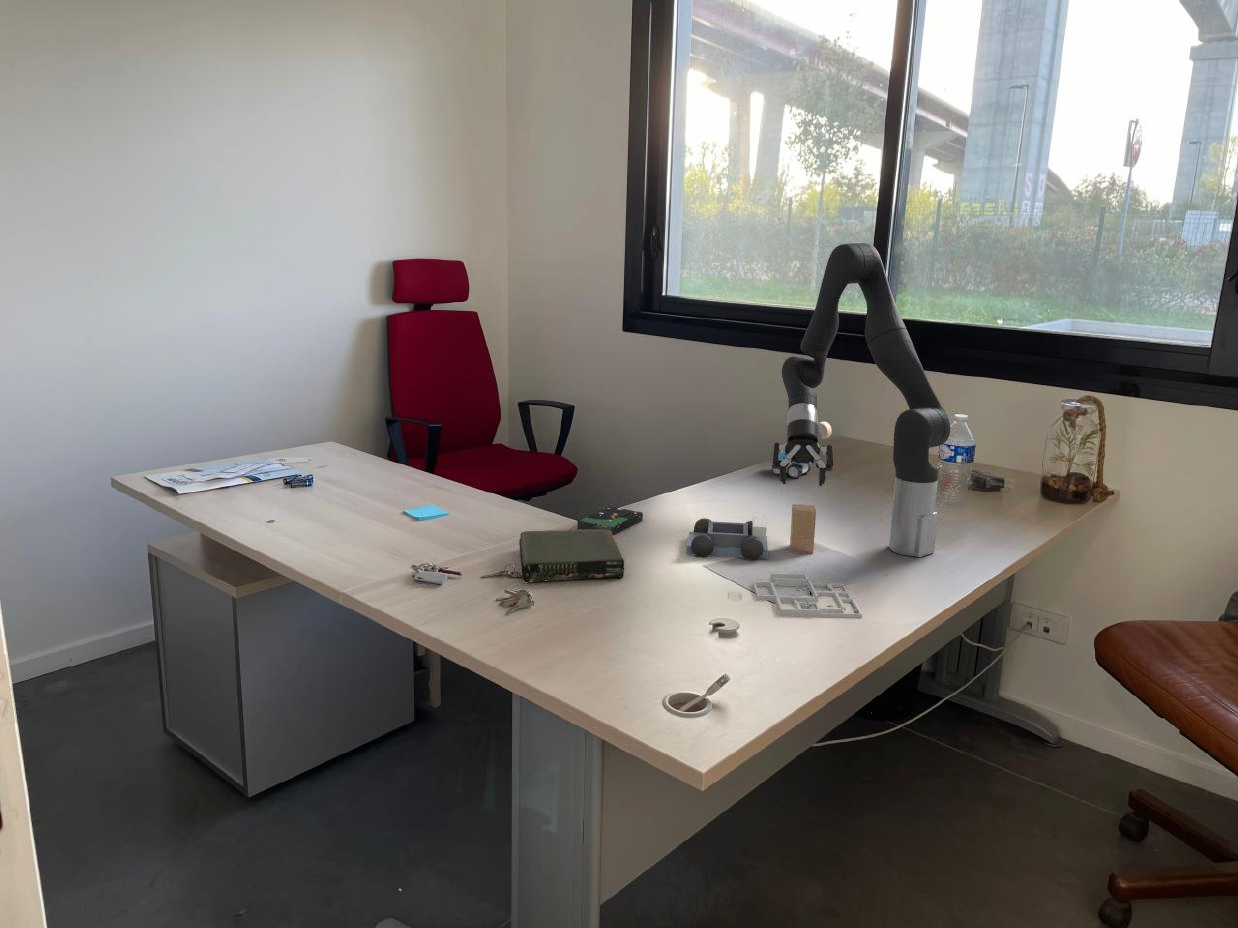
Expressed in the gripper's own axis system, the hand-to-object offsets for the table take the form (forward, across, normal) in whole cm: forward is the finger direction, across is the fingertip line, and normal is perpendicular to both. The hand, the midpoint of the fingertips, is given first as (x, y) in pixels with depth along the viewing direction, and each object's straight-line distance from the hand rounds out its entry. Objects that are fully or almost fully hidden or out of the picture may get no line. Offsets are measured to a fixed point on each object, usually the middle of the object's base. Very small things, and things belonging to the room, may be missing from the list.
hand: (802, 483), depth 218 cm
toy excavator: (-31, +3, +50) cm, 59 cm away
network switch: (+30, -51, -10) cm, 60 cm away
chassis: (+18, -17, 0) cm, 25 cm away
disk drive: (+9, -46, +10) cm, 48 cm away
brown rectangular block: (+16, 0, +2) cm, 16 cm away
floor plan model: (+38, -4, -18) cm, 42 cm away
